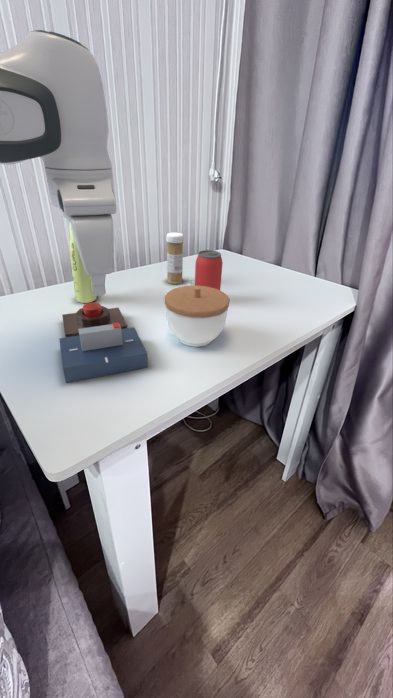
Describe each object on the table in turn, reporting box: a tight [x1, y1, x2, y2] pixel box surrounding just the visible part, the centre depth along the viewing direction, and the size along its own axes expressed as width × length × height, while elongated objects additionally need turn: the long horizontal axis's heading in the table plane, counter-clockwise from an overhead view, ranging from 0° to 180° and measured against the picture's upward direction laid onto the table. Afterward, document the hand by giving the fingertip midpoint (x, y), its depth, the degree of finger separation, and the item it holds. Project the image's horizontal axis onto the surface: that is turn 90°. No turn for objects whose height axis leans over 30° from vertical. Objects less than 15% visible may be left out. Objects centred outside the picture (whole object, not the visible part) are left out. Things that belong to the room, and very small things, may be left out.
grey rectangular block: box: [78, 322, 123, 351], centre depth 59 cm, size 7×2×4 cm, turn 112°
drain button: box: [82, 302, 102, 317], centre depth 68 cm, size 4×4×2 cm
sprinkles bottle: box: [165, 231, 184, 285], centre depth 91 cm, size 5×5×14 cm
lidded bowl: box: [164, 285, 230, 348], centre depth 66 cm, size 13×13×11 cm
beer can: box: [194, 249, 224, 291], centre depth 82 cm, size 7×7×12 cm
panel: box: [59, 326, 149, 384], centre depth 60 cm, size 14×11×3 cm
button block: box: [61, 305, 128, 338], centre depth 69 cm, size 12×9×4 cm
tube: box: [68, 222, 98, 304], centre depth 78 cm, size 6×5×20 cm
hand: (95, 282), depth 54 cm, fingers open, 8 cm apart
